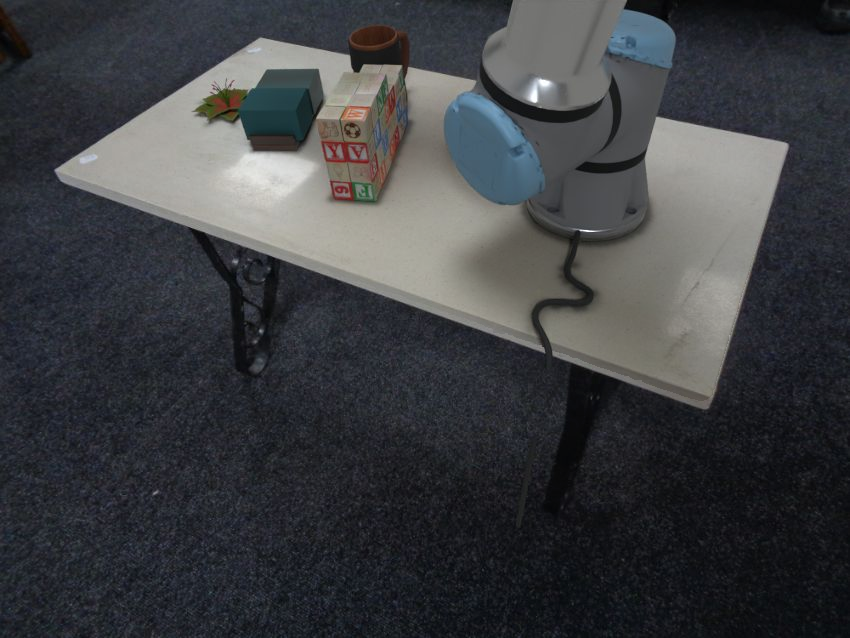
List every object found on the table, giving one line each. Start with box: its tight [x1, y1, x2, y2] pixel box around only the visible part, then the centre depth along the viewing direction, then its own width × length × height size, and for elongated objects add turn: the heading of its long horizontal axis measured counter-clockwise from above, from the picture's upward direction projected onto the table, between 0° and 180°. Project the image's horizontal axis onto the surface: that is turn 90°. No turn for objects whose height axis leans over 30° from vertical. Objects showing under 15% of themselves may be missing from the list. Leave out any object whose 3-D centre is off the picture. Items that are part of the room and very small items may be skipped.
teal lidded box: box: [249, 68, 325, 152], centre depth 90 cm, size 17×9×6 cm, turn 174°
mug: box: [347, 24, 411, 105], centre depth 90 cm, size 9×12×12 cm
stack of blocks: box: [316, 64, 409, 202], centre depth 79 cm, size 21×6×12 cm, turn 169°
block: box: [238, 87, 314, 141], centre depth 87 cm, size 7×9×5 cm
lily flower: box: [191, 78, 250, 122], centre depth 95 cm, size 12×12×5 cm
